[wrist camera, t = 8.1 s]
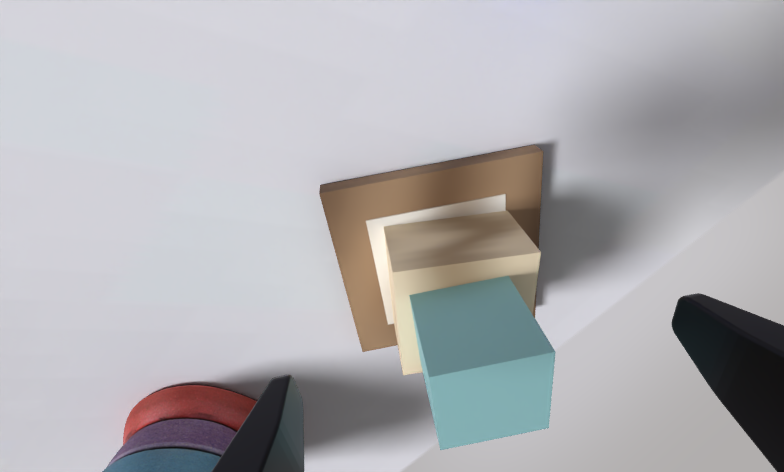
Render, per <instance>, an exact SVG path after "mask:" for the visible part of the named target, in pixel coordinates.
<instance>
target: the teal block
mask: <svg viewBox="0 0 784 472" xmlns="http://www.w3.org/2000/svg"><path fill="white" fill-rule="evenodd" d="M409 297H410V303H411V309H412V314H413V320H414V326H415V332H416V338H417V344H418V350H419V356H420V361H421V366H422V371H423V375H424V380H425V384H426V388H427V393H428V397H429V401H430V406H431V410H432V415H433V419H434V423H435V428H436V432H437V437H438V441H439V445H440V450H444V449H448V448H453V447H458V446H463V445H468V444H473V443H478V442H483V441H487V440H492V439H497V438H502V437H507V436H512V435H517V434H522V433H527V432H531V431H536V430H541V429H546V428H549V417H550V407H551V395H552V384H553V373H554V362H555V351H554V349H553V347H552V346H551V344H550V342H549V341H548V339H547V338H546V336H545V334H544V333H543V331H542V329H541V328H540V326H539V325H538V323H537V321H536V320H535V318H534V316H533V315H532V313H531V312H530V310H529V308H528V307H527V305H526V303H525V302H524V300H523V299H522V297H521V295H520V294H519V292H518V290H517V289H516V287H515V286H514V284H513V282H512V281H511V279H510V277H509V276H503V277H498V278H493V279H488V280H483V281H478V282H473V283H468V284H463V285H458V286H453V287H448V288H442V289H437V290H432V291H427V292H422V293H417V294H412V295H409Z"/></svg>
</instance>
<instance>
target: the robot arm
mask: <svg viewBox="0 0 784 472" xmlns="http://www.w3.org/2000/svg"><path fill="white" fill-rule="evenodd" d="M672 328H673V331H674V333H675V335H676V336H677V338H678V339H679V341H680V342H681V344H682V345H683V347H684V348H685V350H686V351H687V353H688V354H689V356H690V357H691V359H692V360H693V362H694V363H695V365H696V366H697V368H698V369H699V371H700V373H701V374H702V376H703V377H704V379H705V380H706V382H707V383H708V385H709V386H710V387H711V389H712V390H713V392H714V393H715V394H716V396H717V397H718V398H719V400H720V401H721V402H722V404H723V405H724V406H725V407H726V409H727V410H728V411H729V412H730V413H731V415H732V416H733V417H734V418H735V420H736V421H737V422H738V423H739V425H740V426H741V427H742V428H743V430H744V431H745V432H746V433H747V435H748V436H749V437H750V438H751V440H752V441H753V442H754V443H755V445H756V446H757V447H758V448H759V450H760V451H761V452H762V453H763V455H764V456H765V457H766V458H767V459H768V461H769V462H770V463H771V465H772V466H773V467H774V468H775V470H776V471H777V472H784V326H783V325H781V324H778V323H775V322H773V321H771V320H768V319H765V318H763V317H760V316H758V315H755V314H752V313H750V312H747V311H745V310H742V309H739V308H737V307H735V306H732V305H729V304H727V303H724V302H722V301H719V300H716V299H714V298H711V297H709V296H706V295H703V294H692V295H687V296H683V297H681V298H680V299H679V300H678V302H677V306H676V309H675V312H674V316H673V319H672ZM211 472H304V428H303V402H302V397H301V395H300V392H299V390H298V388H297V385H296V383H295V381H294V378H293V377H292V376H291V375H284V376H279V377H275V378H273V379H272V380H271V381H270V383H269V384H268V386H267V387H266V389H265V390H264V392H263V393H262V395H261V396H260V398H259V399H258V401H257V402H256V404H255V406H254V407H253V409H252V410H251V412H250V413H249V415H248V416H247V418H246V419H245V421H244V422H243V424H242V425H241V427H240V428H239V430H238V432H237V433H236V435H235V436H234V438H233V439H232V441H231V442H230V444H229V445H228V447H227V448H226V450H225V451H224V453H223V455H222V456H221V458H220V459H219V461H218V462H217V464H216V465H215V467H214V468H213V470H212V471H211Z"/></svg>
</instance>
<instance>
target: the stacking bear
mask: <svg viewBox="0 0 784 472" xmlns="http://www.w3.org/2000/svg"><path fill="white" fill-rule="evenodd" d="M256 402H257V401H255V400H253V399H251V398H249V397H246V396H244V395H241V394H238V393H235V392H232V391H228V390H225V389H221V388H216V387H210V386H202V385H185V386H177V387H171V388H167V389H163V390H160V391H158V392H155V393H153V394H151V395H149V396H147V397H146V398H144V399H143V400H141V401H140V402H139V403H138V404H137V405H136V406H135V407H134V408H133V409H132V411H131V412H130V414H129V416H128V418H127V421H126V424H125V429H124V436H123V446H122V448H121V449H120V450H119V451H118V452H117V454H116V455H115V456H114V458H113V459H112V460H111V462H110V463H109V465H108V466H107V468H106V469H105V470H104V471H103V472H211V471H212V470H213V468H214V467H215V465H216V464H217V462H218V461H219V459H220V458H221V456H222V455H223V453H224V451H225V450H226V448H227V447H228V445H229V444H230V442H231V441H232V439H233V438H234V436H235V435H236V433H237V432H238V430H239V428H240V427H241V425H242V424H243V422H244V421H245V419H246V418H247V416H248V415H249V413H250V412H251V410H252V409H253V407H254V406H255V404H256Z"/></svg>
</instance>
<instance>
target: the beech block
mask: <svg viewBox="0 0 784 472" xmlns="http://www.w3.org/2000/svg"><path fill="white" fill-rule="evenodd" d="M384 236H385V245H386V254H387V264H388V273H389V282H390V291H391V301H392V310H393V319H394V326H395V331H396V337H397V343H398V349H399V354H400V360H401V366H402V372H403V375H408V374H415V373H421V372H423V371H422V366H421V361H420V356H419V350H418V344H417V338H416V332H415V326H414V320H413V314H412V309H411V303H410V297H409V295H412V294H417V293H422V292H427V291H432V290H437V289H442V288H448V287H453V286H458V285H463V284H468V283H473V282H478V281H483V280H488V279H493V278H498V277H503V276H509V277H510V279H511V281H512V282H513V284H514V286H515V287H516V289H517V290H518V292H519V294H520V295H521V297H522V299H523V300H524V302H525V303H526V305H527V307H528V308H529V310H530V312H531V313H532V315H533V308H534V301H535V293H536V286H537V278H538V271H539V263H540V256H541V252H540V250H539V249H538V248H537V247H536V245H535V244H534V243H533V242H532V240H531V239H530V238H529V237H528V235H527V234H526V233H525V232H524V230H523V229H522V228H521V227H520V225H519V224H518V223H517V222H516V220H515V219H514V218H513V217H512V215H511V214H510V213H509V212H508V210H507V211H500V212H492V213H484V214H477V215H469V216H461V217H453V218H446V219H438V220H430V221H423V222H415V223H407V224H400V225H392V226H384Z"/></svg>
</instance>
